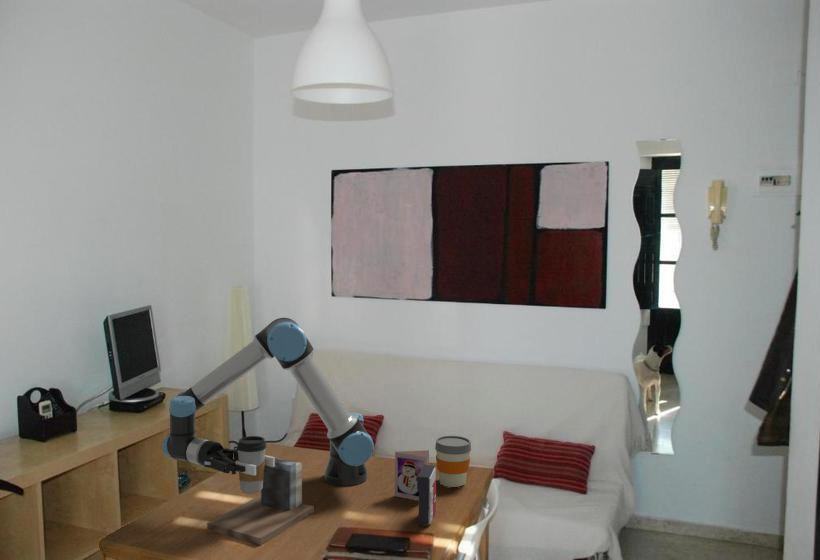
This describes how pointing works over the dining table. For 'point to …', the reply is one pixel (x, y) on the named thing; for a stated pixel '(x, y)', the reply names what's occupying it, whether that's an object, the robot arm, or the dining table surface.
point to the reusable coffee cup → (452, 460)
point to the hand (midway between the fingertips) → (264, 466)
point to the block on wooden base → (267, 506)
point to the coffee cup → (252, 463)
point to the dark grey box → (426, 494)
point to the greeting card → (409, 472)
